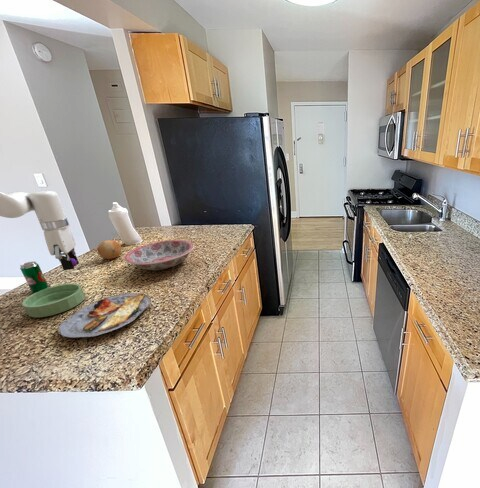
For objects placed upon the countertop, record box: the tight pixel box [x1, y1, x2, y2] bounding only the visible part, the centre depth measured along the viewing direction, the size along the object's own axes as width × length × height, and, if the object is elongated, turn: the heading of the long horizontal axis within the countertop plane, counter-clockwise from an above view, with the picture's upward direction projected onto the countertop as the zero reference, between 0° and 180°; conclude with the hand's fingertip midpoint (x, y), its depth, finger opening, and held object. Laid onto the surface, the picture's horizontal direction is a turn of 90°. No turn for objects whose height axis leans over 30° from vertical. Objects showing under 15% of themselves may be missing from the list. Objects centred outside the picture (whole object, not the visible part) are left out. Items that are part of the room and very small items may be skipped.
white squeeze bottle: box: [107, 202, 144, 246], centre depth 152 cm, size 12×11×25 cm
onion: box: [97, 239, 123, 260], centre depth 135 cm, size 10×10×10 cm
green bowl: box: [21, 282, 86, 318], centre depth 97 cm, size 16×16×5 cm
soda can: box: [19, 261, 49, 293], centre depth 106 cm, size 5×5×12 cm
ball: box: [70, 258, 78, 268], centre depth 105 cm, size 4×4×4 cm
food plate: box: [57, 292, 152, 339], centre depth 90 cm, size 25×23×4 cm
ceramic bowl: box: [124, 239, 195, 271], centre depth 127 cm, size 29×29×8 cm
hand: (71, 266), depth 106 cm, fingers closed on ball, 3 cm apart
